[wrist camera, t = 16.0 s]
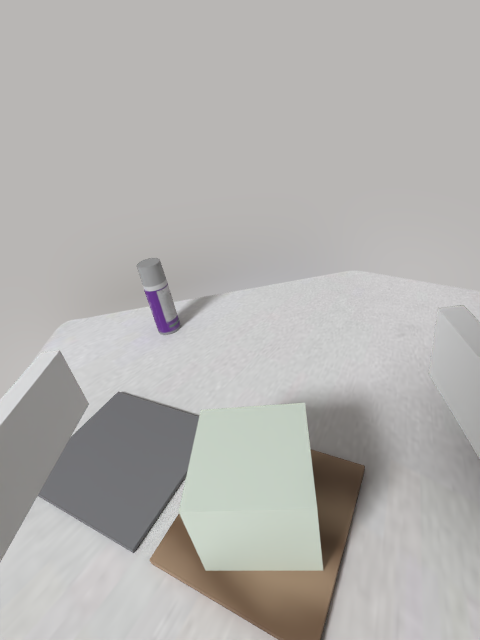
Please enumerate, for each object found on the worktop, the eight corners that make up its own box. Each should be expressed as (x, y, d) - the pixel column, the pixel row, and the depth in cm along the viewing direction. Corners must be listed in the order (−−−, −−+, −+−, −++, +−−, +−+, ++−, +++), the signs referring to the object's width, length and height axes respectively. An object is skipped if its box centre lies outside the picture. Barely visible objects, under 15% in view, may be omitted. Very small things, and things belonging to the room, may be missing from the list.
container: (154, 331, 75) (130, 265, 67) (171, 320, 78) (150, 256, 70) (168, 337, 72) (145, 269, 64) (185, 325, 75) (165, 259, 67)
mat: (119, 393, 59) (118, 391, 59) (220, 425, 50) (219, 422, 50) (23, 486, 47) (21, 484, 46) (133, 553, 37) (132, 550, 37)
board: (235, 430, 49) (234, 426, 48) (364, 470, 41) (364, 465, 40) (151, 563, 36) (149, 559, 36) (315, 661, 28) (314, 657, 27)
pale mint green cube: (219, 468, 43) (200, 410, 38) (311, 464, 41) (304, 402, 36) (205, 570, 34) (178, 512, 29) (323, 570, 32) (317, 508, 27)
